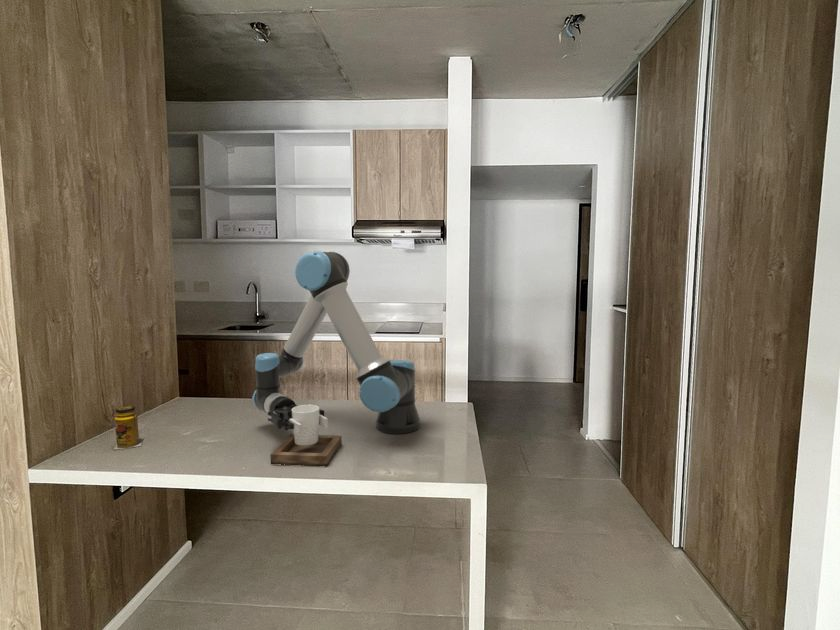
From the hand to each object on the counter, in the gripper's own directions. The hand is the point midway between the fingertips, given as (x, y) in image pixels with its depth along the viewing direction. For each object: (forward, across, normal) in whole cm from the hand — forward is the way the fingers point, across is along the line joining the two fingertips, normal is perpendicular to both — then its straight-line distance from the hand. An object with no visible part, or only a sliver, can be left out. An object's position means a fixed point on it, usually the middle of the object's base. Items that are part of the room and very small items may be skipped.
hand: (313, 426), depth 139 cm
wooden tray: (-5, 0, -10) cm, 11 cm away
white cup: (-5, 0, -6) cm, 8 cm away
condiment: (-49, +39, -11) cm, 63 cm away
